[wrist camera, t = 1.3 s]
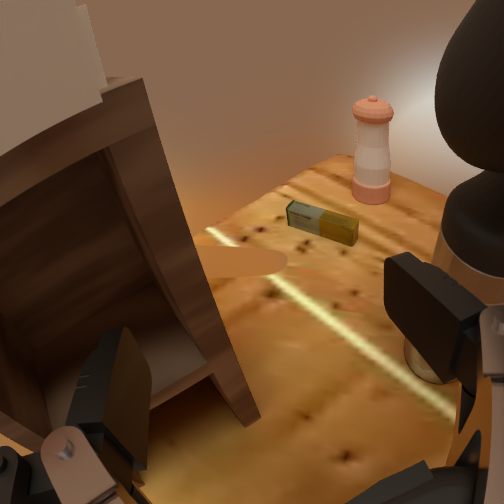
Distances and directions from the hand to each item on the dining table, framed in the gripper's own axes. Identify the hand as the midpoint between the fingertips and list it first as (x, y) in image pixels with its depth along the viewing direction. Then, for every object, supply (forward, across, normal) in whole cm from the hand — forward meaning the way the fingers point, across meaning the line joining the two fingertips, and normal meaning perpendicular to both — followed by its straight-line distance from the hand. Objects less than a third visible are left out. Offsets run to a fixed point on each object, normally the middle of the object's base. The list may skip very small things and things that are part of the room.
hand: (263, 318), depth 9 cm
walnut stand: (+15, +12, +22) cm, 30 cm away
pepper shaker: (+45, -27, +14) cm, 55 cm away
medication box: (+39, -14, +16) cm, 44 cm away
